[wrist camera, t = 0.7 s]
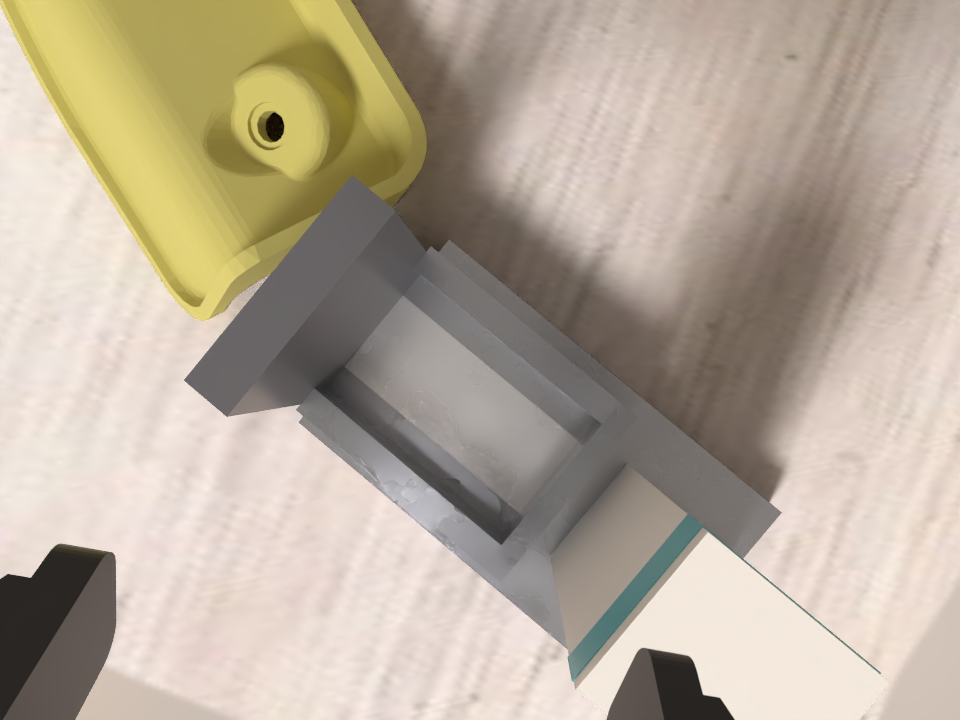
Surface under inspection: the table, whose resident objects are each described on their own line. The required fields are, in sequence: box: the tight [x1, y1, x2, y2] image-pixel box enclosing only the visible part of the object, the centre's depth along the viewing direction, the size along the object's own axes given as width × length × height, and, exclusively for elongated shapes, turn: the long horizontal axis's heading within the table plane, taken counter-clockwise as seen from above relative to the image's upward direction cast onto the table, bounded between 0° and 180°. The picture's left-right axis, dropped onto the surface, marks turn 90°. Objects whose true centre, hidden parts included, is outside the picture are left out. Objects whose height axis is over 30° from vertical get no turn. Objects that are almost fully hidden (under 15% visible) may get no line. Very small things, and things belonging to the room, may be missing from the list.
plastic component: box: [0, 0, 427, 321], centre depth 29 cm, size 20×7×10 cm
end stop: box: [184, 175, 426, 417], centre depth 25 cm, size 2×7×10 cm, turn 140°
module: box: [550, 464, 890, 720], centre depth 23 cm, size 5×5×12 cm
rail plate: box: [296, 239, 782, 649], centre depth 29 cm, size 16×9×4 cm, turn 50°
